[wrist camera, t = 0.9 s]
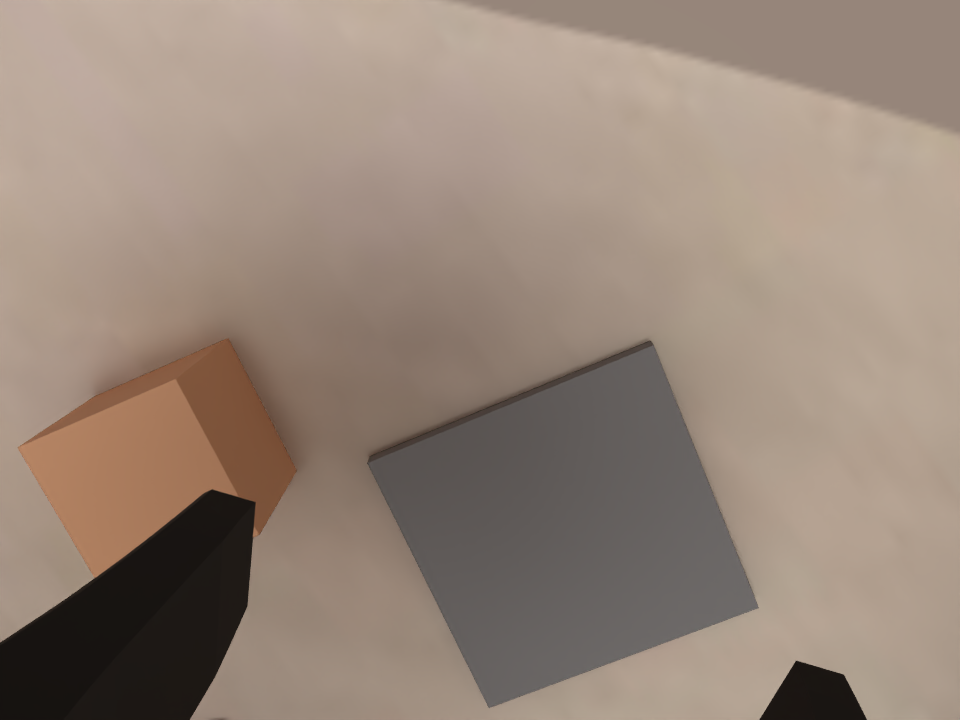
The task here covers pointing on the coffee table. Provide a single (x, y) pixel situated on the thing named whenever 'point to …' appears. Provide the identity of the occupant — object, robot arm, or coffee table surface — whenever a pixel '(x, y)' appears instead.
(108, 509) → the cube
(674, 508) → the mat
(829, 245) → the coffee table surface
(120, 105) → the coffee table surface
